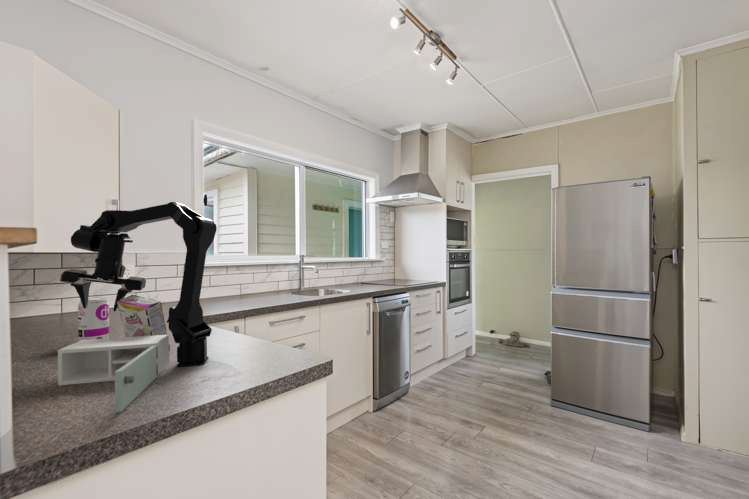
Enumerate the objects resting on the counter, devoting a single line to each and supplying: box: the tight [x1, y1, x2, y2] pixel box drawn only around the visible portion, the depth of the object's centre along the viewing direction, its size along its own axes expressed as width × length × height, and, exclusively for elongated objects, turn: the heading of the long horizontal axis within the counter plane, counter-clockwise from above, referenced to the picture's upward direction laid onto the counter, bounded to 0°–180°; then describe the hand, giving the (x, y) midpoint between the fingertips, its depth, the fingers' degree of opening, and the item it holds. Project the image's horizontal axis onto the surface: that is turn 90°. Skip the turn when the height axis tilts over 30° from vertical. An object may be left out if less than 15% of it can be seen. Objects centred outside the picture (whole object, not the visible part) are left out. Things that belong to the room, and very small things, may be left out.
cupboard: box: [57, 334, 170, 386], centre depth 90 cm, size 20×10×8 cm, turn 104°
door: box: [114, 346, 159, 413], centre depth 77 cm, size 21×2×8 cm, turn 14°
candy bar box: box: [117, 294, 171, 352], centre depth 103 cm, size 11×5×16 cm, turn 71°
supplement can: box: [77, 297, 110, 342], centre depth 122 cm, size 8×8×15 cm
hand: (100, 309), depth 102 cm, fingers open, 7 cm apart
